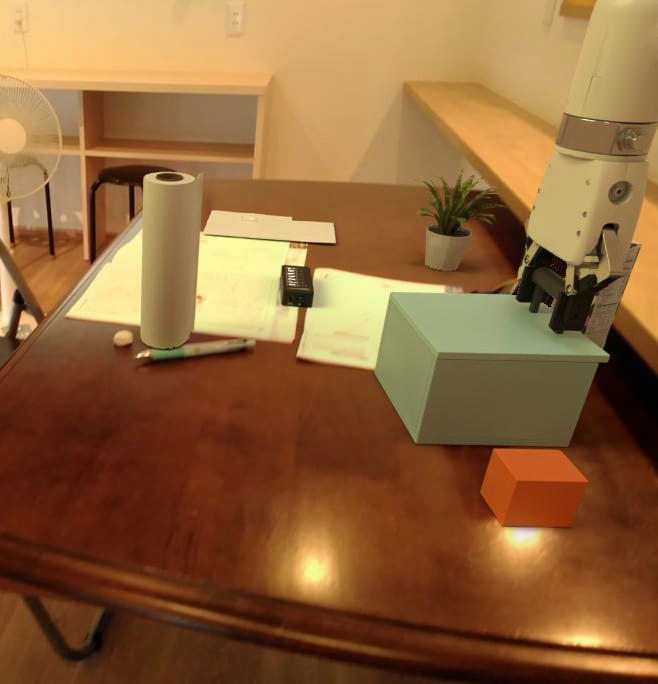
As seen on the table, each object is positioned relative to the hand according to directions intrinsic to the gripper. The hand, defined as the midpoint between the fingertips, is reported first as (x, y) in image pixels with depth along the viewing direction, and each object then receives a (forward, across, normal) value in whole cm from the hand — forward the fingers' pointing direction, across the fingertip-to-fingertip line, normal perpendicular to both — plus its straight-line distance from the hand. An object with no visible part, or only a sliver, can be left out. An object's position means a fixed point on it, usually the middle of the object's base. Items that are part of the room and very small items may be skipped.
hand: (547, 313), depth 71 cm
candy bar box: (+12, +14, -10) cm, 21 cm away
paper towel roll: (+12, +15, +39) cm, 43 cm away
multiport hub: (+12, +32, +19) cm, 39 cm away
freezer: (+12, 0, +6) cm, 13 cm away
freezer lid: (+2, 0, +6) cm, 6 cm away
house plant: (+12, +44, -7) cm, 46 cm away
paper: (+12, +64, +18) cm, 67 cm away
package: (+12, -17, +8) cm, 22 cm away
